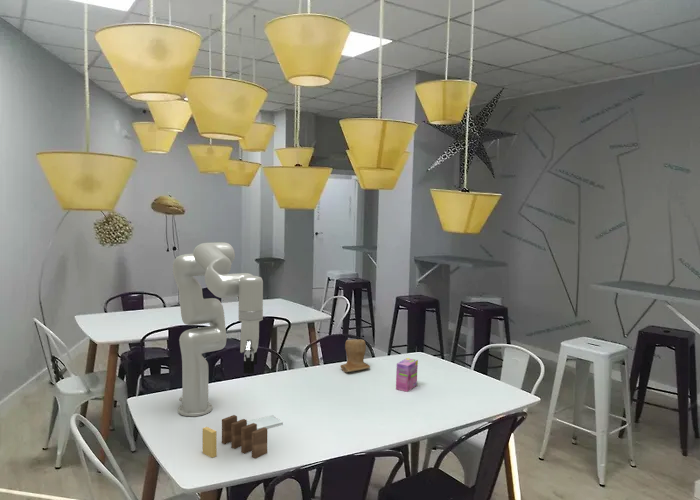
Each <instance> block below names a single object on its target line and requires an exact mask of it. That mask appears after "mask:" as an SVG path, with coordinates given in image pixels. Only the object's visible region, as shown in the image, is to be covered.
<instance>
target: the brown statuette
mask: <svg viewBox="0 0 700 500" xmlns="http://www.w3.org/2000/svg"><path fill="white" fill-rule="evenodd" d="M344 349H345V351H346V353H345V354H346V358H347V360H346V363H344V364H341V365H340V369H341V370H342V371H343V372H344V373H351V372H358V371H363V370H367V369H370V368H371V365H369V364H368V363H365V361H364V360H365V359H364V358H365V356H366V349H367V346H366V341H365V340H364V339H361V338H360V339H359V338H357V339H356V338H355V339H353V338H352V339H351V338H350V339H346V341H345V344H344Z"/></svg>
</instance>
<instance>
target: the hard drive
mask: <svg viewBox="0 0 700 500" xmlns="http://www.w3.org/2000/svg"><path fill="white" fill-rule="evenodd" d="M252 423H255V424H257V430H258V429H261V428H263V427H265V428H267V430H268V429H272V428H276V427H279V426H283V425H284V421H282V420H280V419H279V418H278V417H276V416H275V415H273V414H272V415H267V416H264V417H259V418H255V419H250V420H247V425H250V424H252Z"/></svg>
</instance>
